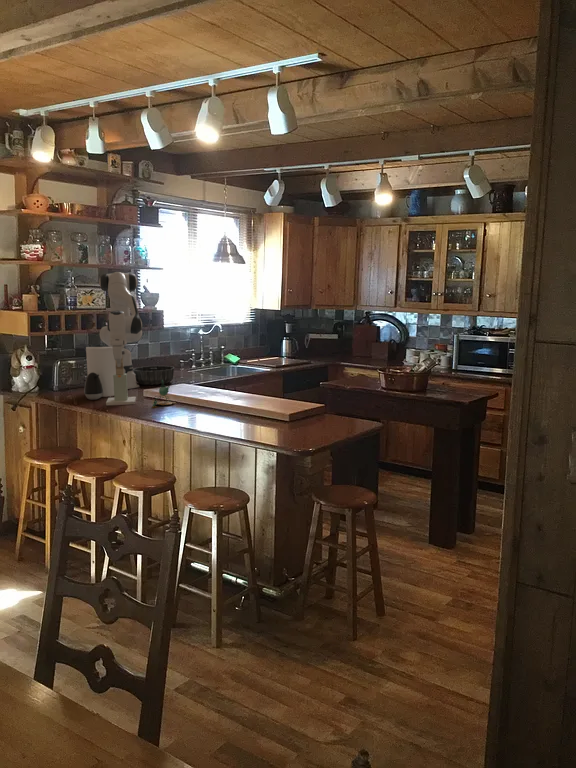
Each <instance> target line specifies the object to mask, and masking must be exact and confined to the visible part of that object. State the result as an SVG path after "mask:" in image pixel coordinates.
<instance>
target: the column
mask: <svg viewBox="0 0 576 768" xmlns="http://www.w3.org/2000/svg"><path fill="white" fill-rule="evenodd" d="M123 354H125V352H124V351H122V359H121V367H117V360H115V363H116V375H124V368H123Z"/></svg>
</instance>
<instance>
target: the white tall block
mask: <svg viewBox="0 0 576 768" xmlns="http://www.w3.org/2000/svg"><path fill="white" fill-rule="evenodd" d="M85 353H86V354H85V355H86V367H87V368H86V371H87V376H88V375H89V374H90V373H92V372H93V373H96V374H97V375H99V378H100V381H101V384H102V388H103V393H102V396H101V398H102V397H103V398H105V397H113V396H114V380H113V375H114V374H116V363H115V359H114V355H113V348H112V347H109V346H86V347H85Z"/></svg>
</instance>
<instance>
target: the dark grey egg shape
mask: <svg viewBox="0 0 576 768" xmlns="http://www.w3.org/2000/svg"><path fill="white" fill-rule="evenodd" d="M83 392H84V395H85V397H86V398H87V399H88V400H90V401H91V400H92V401H96V400H99V399H101V398H102V397H101V396H102V393H103V388H102V384H101V381H100V378H99V375H97V374H96V373H93V372H92V373H90V374H89V375H88V374H87V376H86V379H85V382H84V390H83Z"/></svg>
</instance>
